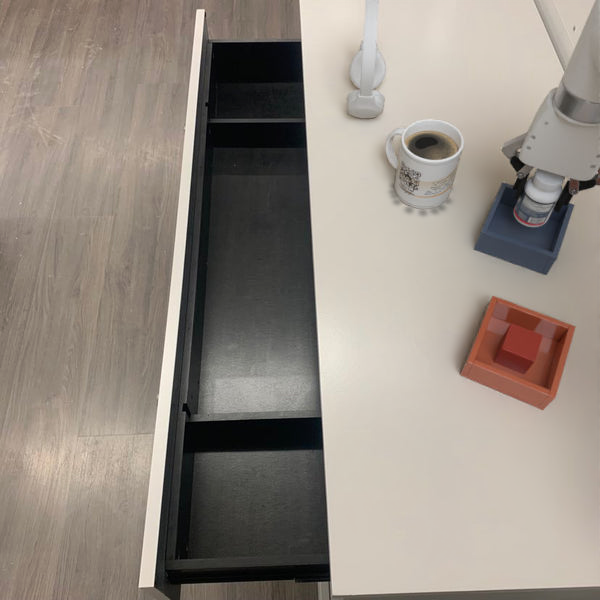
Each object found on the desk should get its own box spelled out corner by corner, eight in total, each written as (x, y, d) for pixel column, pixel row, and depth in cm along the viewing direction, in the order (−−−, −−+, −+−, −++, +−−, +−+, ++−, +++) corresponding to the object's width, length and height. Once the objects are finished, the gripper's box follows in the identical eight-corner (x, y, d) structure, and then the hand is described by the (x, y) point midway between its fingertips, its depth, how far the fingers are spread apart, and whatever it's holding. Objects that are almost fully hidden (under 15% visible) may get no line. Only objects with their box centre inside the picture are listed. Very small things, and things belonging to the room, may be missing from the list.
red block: (532, 349, 76) (543, 335, 72) (524, 374, 74) (534, 361, 70) (502, 337, 77) (511, 322, 73) (493, 362, 75) (501, 348, 71)
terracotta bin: (563, 341, 77) (575, 326, 73) (542, 410, 72) (555, 398, 68) (484, 311, 80) (492, 295, 76) (459, 375, 75) (467, 361, 71)
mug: (397, 213, 91) (406, 166, 81) (381, 164, 97) (387, 114, 87) (457, 204, 91) (472, 156, 82) (437, 155, 97) (449, 105, 88)
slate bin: (563, 223, 88) (574, 204, 84) (546, 275, 83) (557, 258, 79) (494, 200, 91) (502, 181, 87) (473, 249, 86) (480, 232, 82)
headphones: (384, 73, 110) (394, -27, 93) (382, 134, 101) (393, 35, 84) (350, 72, 111) (354, -27, 94) (344, 133, 101) (347, 34, 84)
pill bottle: (525, 197, 84) (544, 155, 77) (554, 214, 82) (577, 173, 75) (505, 215, 82) (524, 174, 75) (535, 234, 80) (556, 193, 73)
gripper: (670, 96, 63) (602, 200, 79) (526, 61, 68) (489, 165, 83) (660, 136, 60) (592, 236, 75) (509, 96, 64) (474, 198, 80)
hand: (538, 198), depth 79 cm, fingers closed on pill bottle, 5 cm apart
